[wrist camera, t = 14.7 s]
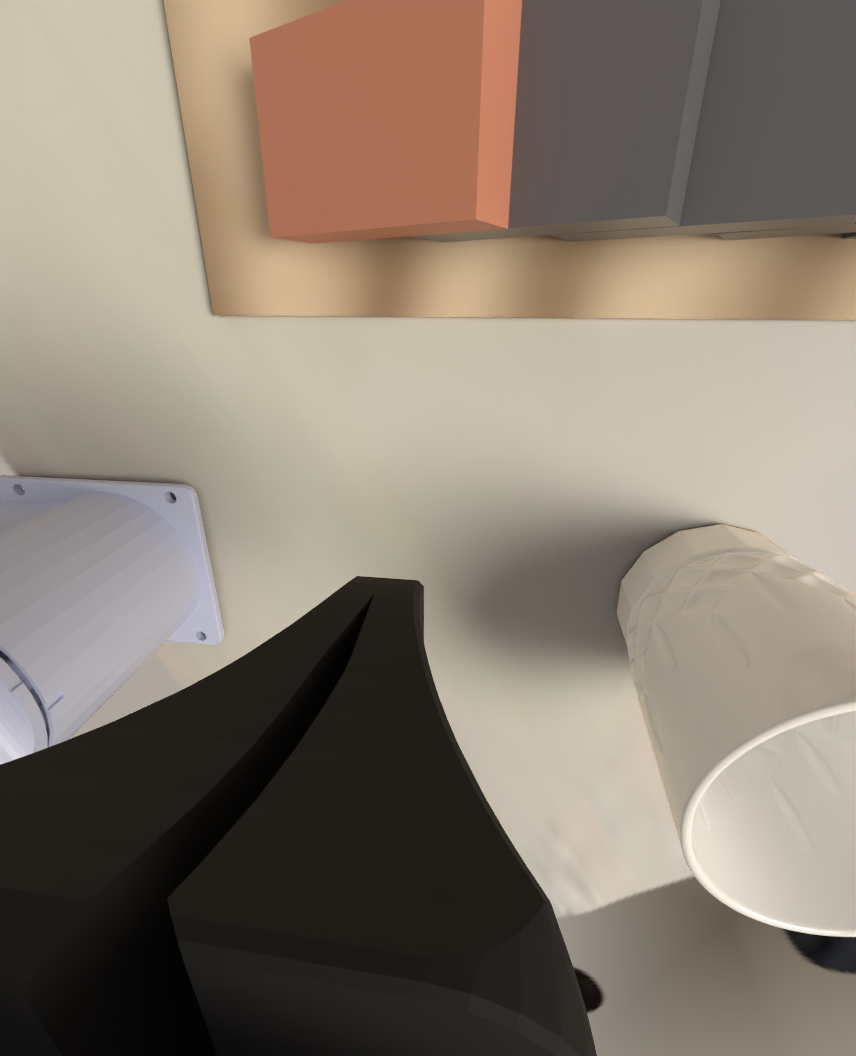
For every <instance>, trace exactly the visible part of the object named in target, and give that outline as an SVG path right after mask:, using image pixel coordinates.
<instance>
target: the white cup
mask: <svg viewBox="0 0 856 1056" xmlns="http://www.w3.org/2000/svg"><path fill="white" fill-rule="evenodd" d="M617 617H618V620H619V623H620V626H621V629H622V632H623V635H624V638H625V641H626V645H627V649H628V655H629V663H630V669H631V673H632V677H633V681H634V685H635V688H636V692H637V695H638V701H639V705H640V709H641V712H642V715H643V719H644V722H645V726H646V729H647V732H648V736H649V739H650V742H651V746H652V749H653V752H654V756H655V759H656V762H657V766H658V769H659V772H660V776H661V779H662V783H663V786H664V789H665V793H666V796H667V800H668V803H669V806H670V810H671V813H672V817H673V820H674V824H675V827H676V831H677V834H678V838H679V841H680V845H681V848H682V852H683V855H684V857H685V860H686V862H687V864H688V866H689V868H690V870H691V871H692V873H693V875H694V876H695V877H696V879H697V880H698V881H699V882H700V884H701V885H702V886H703V887H704V888H705V889H706V890H707V891H708V892H709V893H711V894H712V895H713V896H714V897H716V898H717V899H718V900H720V901H721V902H722V903H724V904H726V905H727V906H729V907H730V908H732V909H734V910H735V911H737V912H740V913H741V914H743V915H746V916H748V917H750V918H752V919H755V920H758V921H760V922H763V923H766V924H769V925H772V926H776V927H779V928H783V929H787V930H792V931H797V932H802V933H808V934H816V935H825V936H840V937H856V596H855V595H854V594H852V593H851V592H849V591H848V590H846V589H845V588H844V587H842V586H841V585H839V584H838V583H836V582H835V581H833V580H832V579H830V578H828V577H827V576H825V575H824V574H823V573H821V572H819V571H817V570H815V569H813V568H811V567H809V566H807V565H805V564H803V563H802V562H800V561H799V560H797V559H796V558H794V557H793V556H791V555H790V554H789V553H787V552H786V551H785V550H783V549H782V548H781V547H779V546H778V545H777V544H775V543H774V542H773V541H771V540H770V539H769V538H767V537H766V536H765V535H763V534H761V533H757V532H753V531H749V530H745V529H740V528H736V527H732V526H728V525H723V524H719V525H712V526H706V527H700V528H694V529H688V530H681V531H678V532H676V533H674V534H673V535H671V536H669V537H668V538H666V539H664V540H662V541H661V542H659V543H657V544H656V545H654V546H652V547H650V548H649V549H647V550H645V551H644V552H643V553H642V554H641V555H640V557H639V558H638V559H637V561H636V562H635V563H634V565H633V566H632V567H631V569H630V570H629V571H628V573H627V574H626V575H625V577H624V578H623V579H622V581H621V587H620V593H619V600H618V606H617Z"/></svg>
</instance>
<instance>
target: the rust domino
mask: <svg viewBox="0 0 856 1056" xmlns="http://www.w3.org/2000/svg"><path fill="white" fill-rule="evenodd" d="M521 11H522V0H346V1H343V2H340V3H338V4H335V5H333V6H330V7H328V8H325V9H322V10H320V11H317V12H315V13H312V14H310V15H307V16H304V17H302V18H299V19H297V20H294V21H292V22H289V23H287V24H284V25H281V26H279V27H276V28H274V29H271V30H269V31H266V32H263V33H261V34H258V35H256V36H253V37H251V38H249V40H250V49H251V59H252V68H253V78H254V87H255V96H256V106H257V115H258V124H259V134H260V143H261V152H262V162H263V171H264V181H265V190H266V199H267V209H268V218H269V227H270V237H271V238H276V239H284V240H291V241H298V242H305V243H312V244H315V243H328V242H341V241H354V240H367V239H381V238H394V237H407V236H420V235H433V234H446V233H459V232H472V231H485V230H499V229H508V220H509V204H510V188H511V172H512V156H513V140H514V124H515V108H516V92H517V76H518V60H519V43H520V27H521Z"/></svg>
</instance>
